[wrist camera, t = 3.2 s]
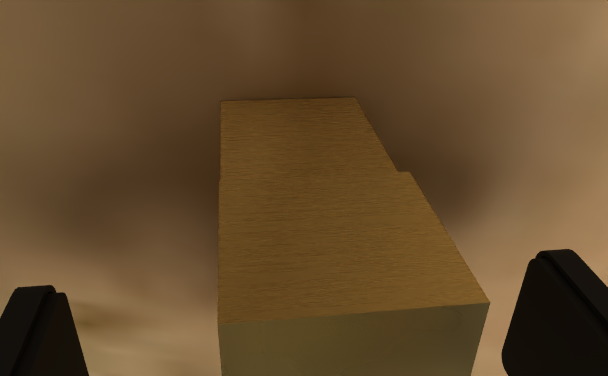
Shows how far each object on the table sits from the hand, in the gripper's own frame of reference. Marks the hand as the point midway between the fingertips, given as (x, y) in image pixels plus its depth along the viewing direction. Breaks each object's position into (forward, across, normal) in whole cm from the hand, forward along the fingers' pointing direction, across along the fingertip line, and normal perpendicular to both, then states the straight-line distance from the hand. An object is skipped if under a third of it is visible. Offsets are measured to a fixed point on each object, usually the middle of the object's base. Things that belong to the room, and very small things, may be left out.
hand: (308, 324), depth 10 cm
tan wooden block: (+4, 0, 0) cm, 4 cm away
